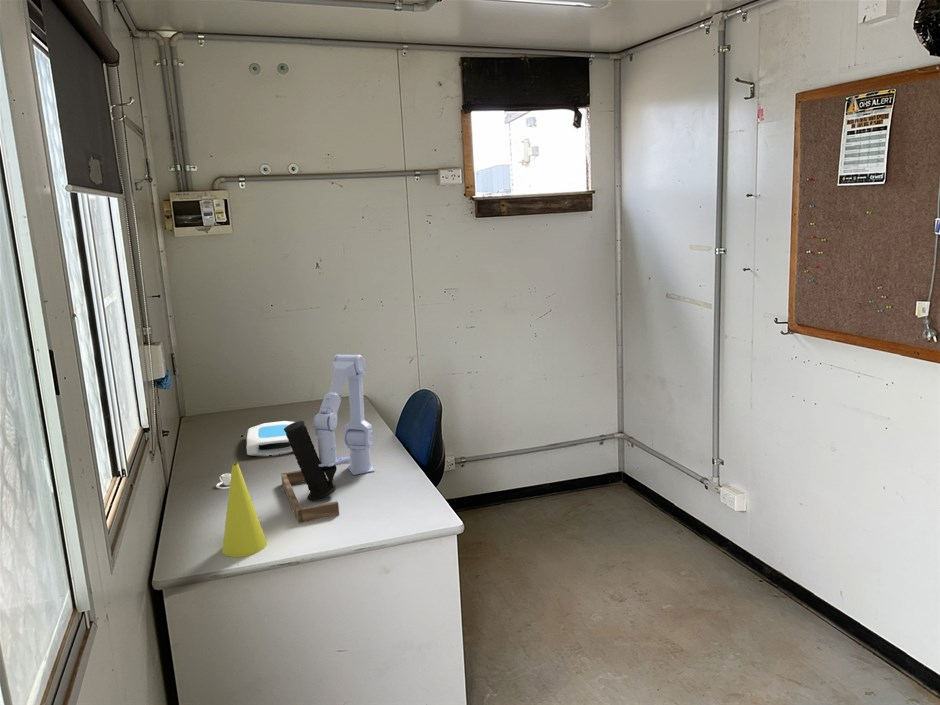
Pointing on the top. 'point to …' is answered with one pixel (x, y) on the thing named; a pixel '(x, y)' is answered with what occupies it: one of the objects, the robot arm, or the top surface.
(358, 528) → the top surface
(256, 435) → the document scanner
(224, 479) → the teacup and saucer
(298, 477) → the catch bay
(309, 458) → the handle grip
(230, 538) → the cone
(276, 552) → the top surface
